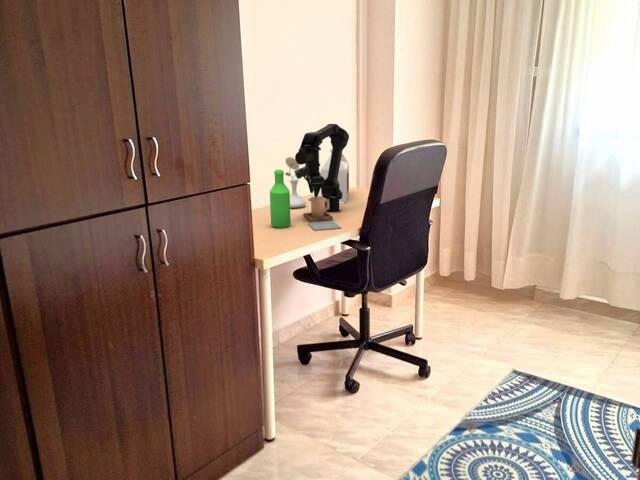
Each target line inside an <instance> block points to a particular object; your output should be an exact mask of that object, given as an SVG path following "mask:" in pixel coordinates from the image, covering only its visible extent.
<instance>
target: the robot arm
mask: <svg viewBox="0 0 640 480" xmlns="http://www.w3.org/2000/svg"><path fill="white" fill-rule="evenodd" d="M326 138H329V139H330V143H331V149H332V147H333V149H332V155H331V154H330V155H331V160H330V166H329V171H328V177H327V178H326V179H325V180H324V178H323V177H322V176H321V171H320V167H321V163H320V151H322V148H321V147H320V145H322V144H323V141H324V140H325V139H326ZM349 140H350V135H349V133H348V132H347V130H346V129H344V128H342V127H341V126H339V125H338V124H337V123H328V124H326V126H324V127H321V128H320V129H318V130H317V131H316V130H315V131H312V132H311V131H309V132H306V133H305V134H304V136H303V137H302V141H301V144H300V147H299V148H298V151H297V152H296V154H295V155H294V159H295V160H296V162H297V163H298V164H299V166H300V165H304V166H303V167H299V169H296V170H293V172H294V175H296V176H295V178H296V179H299V180H300V179H302V178H303V179H304V180H306V182H307V186H308V189H309V193H310V194H314V196H313V197H317V196H319V193H320V194H321V193H322V197H324V198H325V199H329V207H330V210H325V211H326V212H327V213H335V212H336V213H337V212H341V209H340V203H339V199H341V198H342V195H343V194H342V192H341V190H340V189H339V187H340V185H339V182H338V173H339V167H340V162H341V156H342V154H343V150H344V149H345V148H346V147H347V145H348V142H349ZM324 207H327V202H324Z"/></svg>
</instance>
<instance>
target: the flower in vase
mask: <svg viewBox="0 0 640 480" xmlns="http://www.w3.org/2000/svg"><path fill="white" fill-rule="evenodd" d="M285 164H286V165H287V167H288V168H289V171H291V169H292V170H293V171H295V170H298V169H300V164H298V163H297V162H296V160H295V157H291V156H287V157H286V158H285ZM289 171H287V172H285V173H284V176H288V177H291V178H290V179H288V181H289V183H290V185H291V193H290V209H292V208H294V209H295V208H296V209H297V208H301V207H304V206H305V205H306V204H307V202H306V200H304V199H303V198H302V197H301V196H300V195H298V192H297V185H298V182H299V181H300V179H298V178H294V177H296V175H295V174H294V175H293V176H292V174H291V172H289Z"/></svg>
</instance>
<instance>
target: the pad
mask: <svg viewBox="0 0 640 480" xmlns="http://www.w3.org/2000/svg"><path fill="white" fill-rule="evenodd" d="M307 225H308V226H309V227H310V229H312V230H313V232H319V231H320V232H321V231H330V230H332V231H333V230H341V229H342V227H341V225H339V224H338V223H337V222H335V221H334V220H333V221H322V222H311V223H309V222H307Z"/></svg>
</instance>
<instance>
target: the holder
mask: <svg viewBox="0 0 640 480" xmlns="http://www.w3.org/2000/svg"><path fill="white" fill-rule="evenodd" d="M303 218H304V219H305V220H306V221H307V223H313V222H324V221H334V220H333V215H331V214H330V212H327V211H326V210H324V217H316V218H311V212H303Z"/></svg>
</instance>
